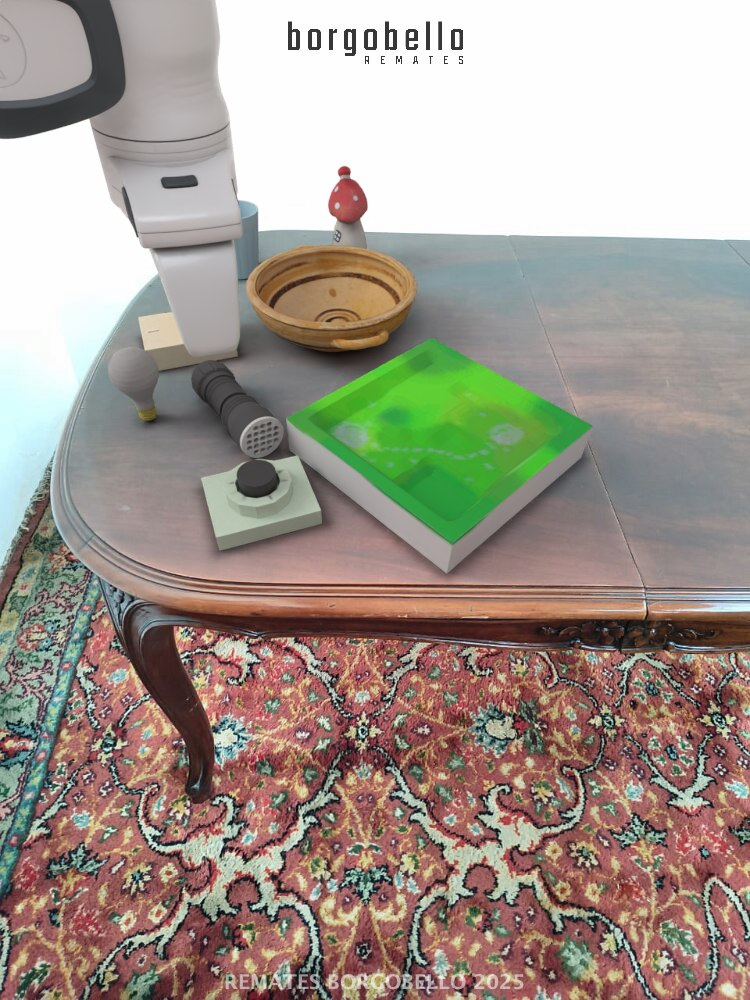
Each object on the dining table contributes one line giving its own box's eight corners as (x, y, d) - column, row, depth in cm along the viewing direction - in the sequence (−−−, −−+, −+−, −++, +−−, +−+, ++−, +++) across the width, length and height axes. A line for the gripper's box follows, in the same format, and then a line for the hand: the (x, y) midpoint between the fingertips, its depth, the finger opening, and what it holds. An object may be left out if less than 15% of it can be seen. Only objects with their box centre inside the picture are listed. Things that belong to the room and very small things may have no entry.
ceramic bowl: (449, 369, 83) (456, 318, 78) (283, 406, 77) (277, 353, 71) (371, 275, 102) (372, 228, 96) (232, 298, 95) (224, 249, 89)
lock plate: (151, 372, 81) (144, 349, 78) (144, 338, 87) (137, 315, 84) (238, 356, 84) (234, 333, 82) (225, 324, 90) (221, 302, 87)
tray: (428, 368, 83) (431, 337, 80) (581, 457, 72) (593, 426, 68) (289, 450, 71) (286, 418, 67) (446, 573, 59) (452, 542, 56)
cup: (269, 279, 100) (261, 216, 92) (223, 285, 98) (212, 221, 90) (261, 259, 105) (253, 197, 97) (217, 264, 103) (206, 202, 95)
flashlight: (191, 398, 78) (182, 363, 74) (228, 384, 80) (222, 349, 76) (245, 464, 69) (238, 429, 65) (285, 447, 71) (281, 411, 67)
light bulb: (159, 436, 72) (137, 368, 65) (118, 429, 73) (92, 360, 66) (179, 409, 76) (160, 341, 68) (140, 402, 77) (117, 334, 69)
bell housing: (219, 551, 61) (212, 526, 58) (204, 491, 66) (197, 465, 63) (322, 523, 63) (320, 498, 60) (299, 468, 69) (296, 443, 66)
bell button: (243, 502, 60) (240, 490, 59) (235, 476, 63) (232, 464, 62) (281, 492, 61) (279, 481, 60) (272, 467, 64) (270, 455, 63)
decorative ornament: (335, 251, 108) (333, 161, 97) (370, 254, 107) (372, 164, 96) (324, 275, 101) (321, 181, 90) (362, 278, 101) (363, 185, 90)
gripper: (111, 123, 46) (151, 287, 57) (137, 234, 34) (183, 420, 44) (193, 119, 48) (217, 279, 58) (246, 223, 36) (266, 404, 46)
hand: (203, 341), depth 51 cm, fingers closed
